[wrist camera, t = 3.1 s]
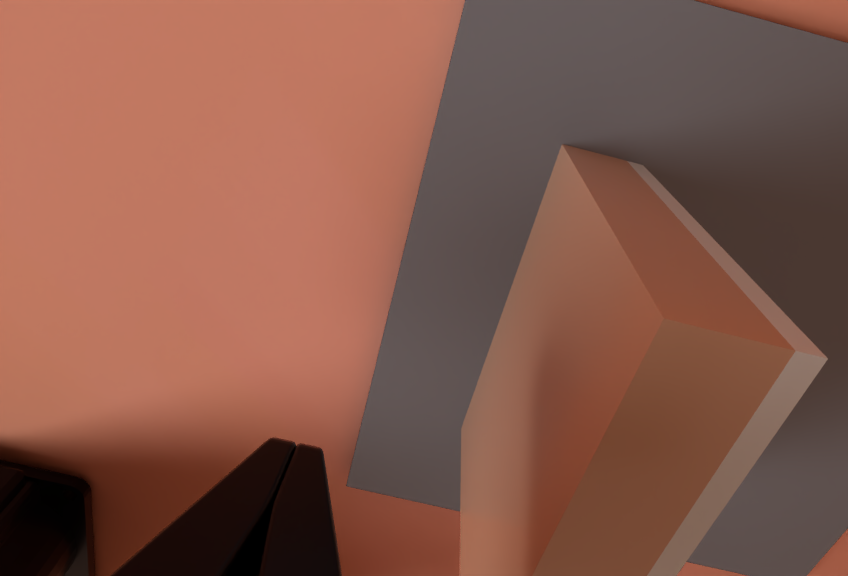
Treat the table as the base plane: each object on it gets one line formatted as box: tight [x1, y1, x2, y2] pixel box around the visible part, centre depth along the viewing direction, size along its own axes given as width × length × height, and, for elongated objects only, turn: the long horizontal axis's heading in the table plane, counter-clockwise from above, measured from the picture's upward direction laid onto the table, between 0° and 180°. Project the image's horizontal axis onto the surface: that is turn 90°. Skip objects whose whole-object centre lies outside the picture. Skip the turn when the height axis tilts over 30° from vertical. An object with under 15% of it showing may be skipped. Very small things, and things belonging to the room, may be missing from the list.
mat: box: [346, 0, 848, 576], centre depth 16 cm, size 16×16×1 cm
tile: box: [460, 144, 828, 576], centre depth 12 cm, size 9×2×8 cm, turn 166°
